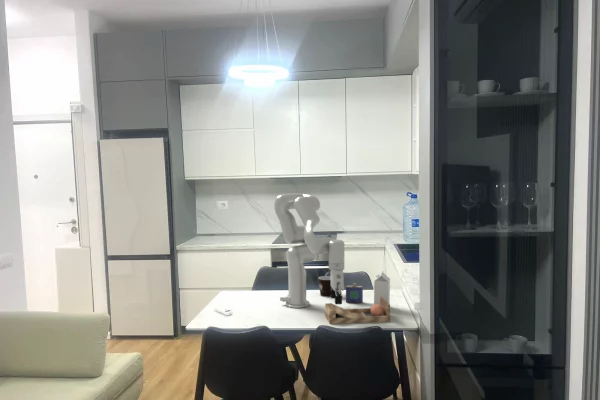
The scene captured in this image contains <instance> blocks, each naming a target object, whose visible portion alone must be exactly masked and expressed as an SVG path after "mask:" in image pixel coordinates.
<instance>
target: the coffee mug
mask: <svg viewBox="0 0 600 400" xmlns="http://www.w3.org/2000/svg"><path fill="white" fill-rule="evenodd" d="M318 285H319V286H318V287H319V295H320V296H321V297H324V298H326V297H331V290H332V289H331V275H330V276H329V275H328V276H327V275H324V276H323V275H322V276H318Z"/></svg>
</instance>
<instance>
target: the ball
mask: <svg viewBox="0 0 600 400" xmlns="http://www.w3.org/2000/svg"><path fill="white" fill-rule="evenodd" d="M370 308H371V314H372V315H373V316H381V315H382V314H383V308H382V307H381V306H380V305H378V304H375V305H374V304H373V305H372V306H371V307H370Z"/></svg>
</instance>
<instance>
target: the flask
mask: <svg viewBox="0 0 600 400" xmlns="http://www.w3.org/2000/svg"><path fill="white" fill-rule="evenodd" d="M356 284H357V283H356V282H354V283H353V284H352V285H351V284H349V285H346V286H345V303H346V304H363V303H364V299H363V297H364V294H363V291H364V289H363V288H364V286H362V285H356Z"/></svg>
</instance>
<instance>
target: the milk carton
mask: <svg viewBox="0 0 600 400" xmlns="http://www.w3.org/2000/svg"><path fill="white" fill-rule="evenodd" d="M390 283H391V278H390V277H388V276H387V275H386V274H385V273H384V270H382V272H381V273H380V274H379V273H378V274H376V275H375V279H374V281H373V286H374V287H373V305H375V304H378V305H380V297H383V298H384V299H385V300H386V301H387V302H388V303H389V304H390V299H391V298H390V297H391V296H390V293H391V292H390V291H391V290H390V287H391V284H390ZM390 305H391V304H390Z"/></svg>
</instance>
